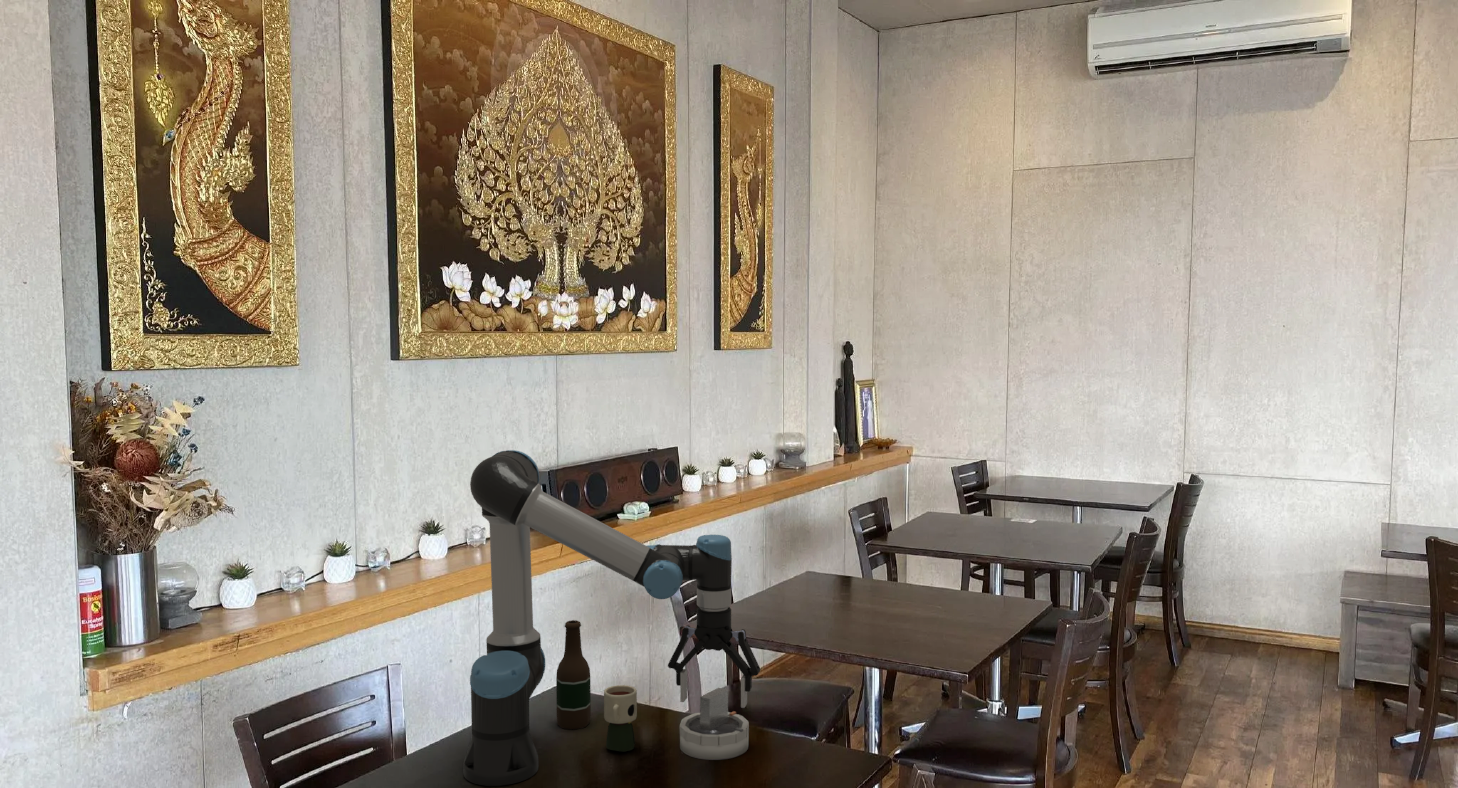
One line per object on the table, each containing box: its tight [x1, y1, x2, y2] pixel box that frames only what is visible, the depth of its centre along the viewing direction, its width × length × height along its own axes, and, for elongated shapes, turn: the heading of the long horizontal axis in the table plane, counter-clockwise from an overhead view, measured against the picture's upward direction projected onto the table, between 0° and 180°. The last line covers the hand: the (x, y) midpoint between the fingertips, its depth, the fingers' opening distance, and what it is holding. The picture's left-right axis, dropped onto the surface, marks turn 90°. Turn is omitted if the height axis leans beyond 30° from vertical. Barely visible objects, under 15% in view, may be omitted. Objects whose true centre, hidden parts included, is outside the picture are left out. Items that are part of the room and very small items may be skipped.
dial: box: [689, 687, 739, 735], centre depth 226 cm, size 11×11×8 cm
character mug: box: [603, 684, 638, 753], centre depth 224 cm, size 11×7×13 cm, turn 173°
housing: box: [679, 710, 750, 761], centre depth 226 cm, size 15×15×5 cm
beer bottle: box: [555, 619, 592, 730], centre depth 238 cm, size 8×8×24 cm
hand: (713, 702), depth 226 cm, fingers open, 13 cm apart
